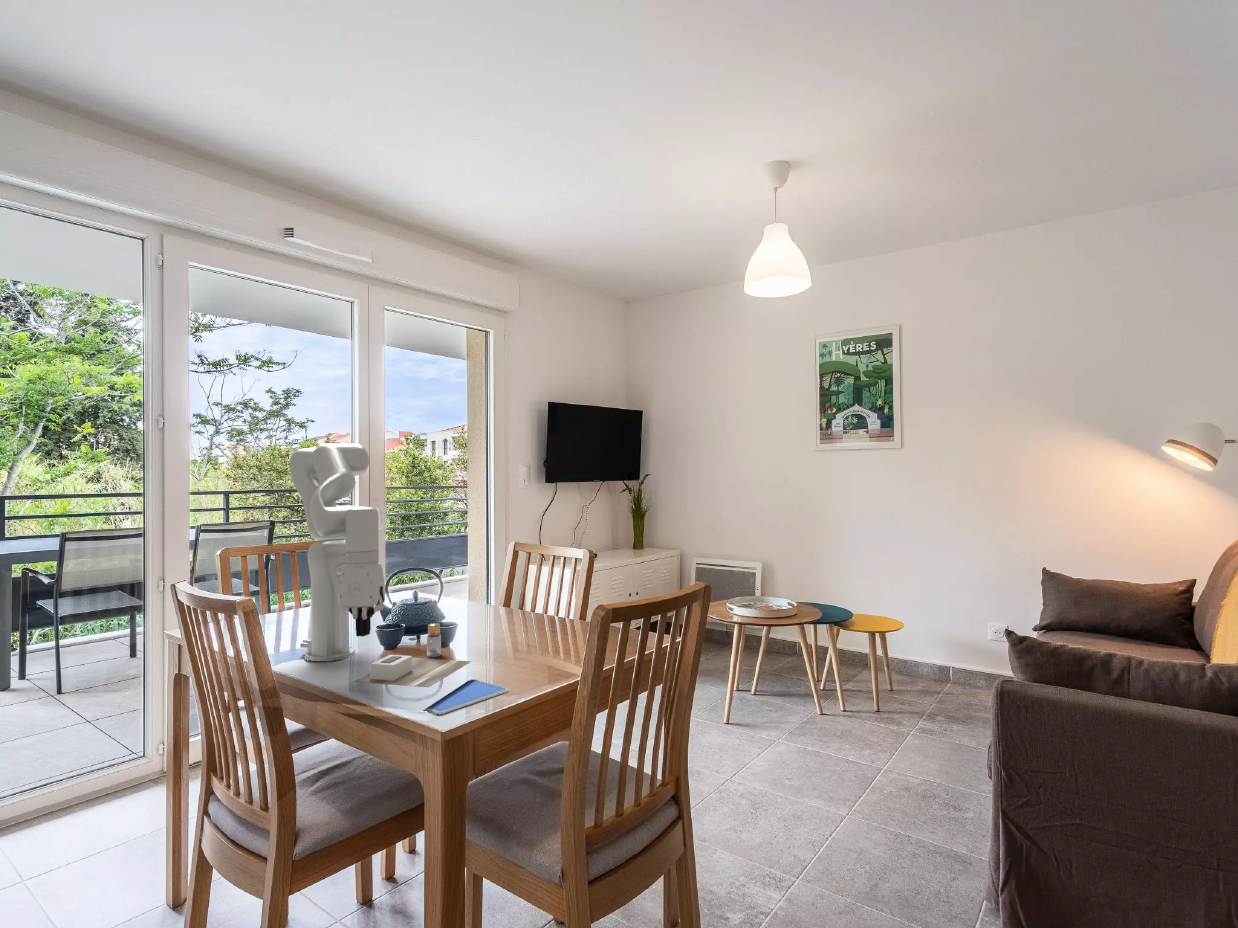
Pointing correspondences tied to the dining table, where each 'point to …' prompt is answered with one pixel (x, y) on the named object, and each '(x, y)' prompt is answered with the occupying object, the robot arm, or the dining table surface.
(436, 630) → the glass spice jar
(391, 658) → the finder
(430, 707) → the tablet computer
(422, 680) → the beige flat panel
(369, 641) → the dining table surface
